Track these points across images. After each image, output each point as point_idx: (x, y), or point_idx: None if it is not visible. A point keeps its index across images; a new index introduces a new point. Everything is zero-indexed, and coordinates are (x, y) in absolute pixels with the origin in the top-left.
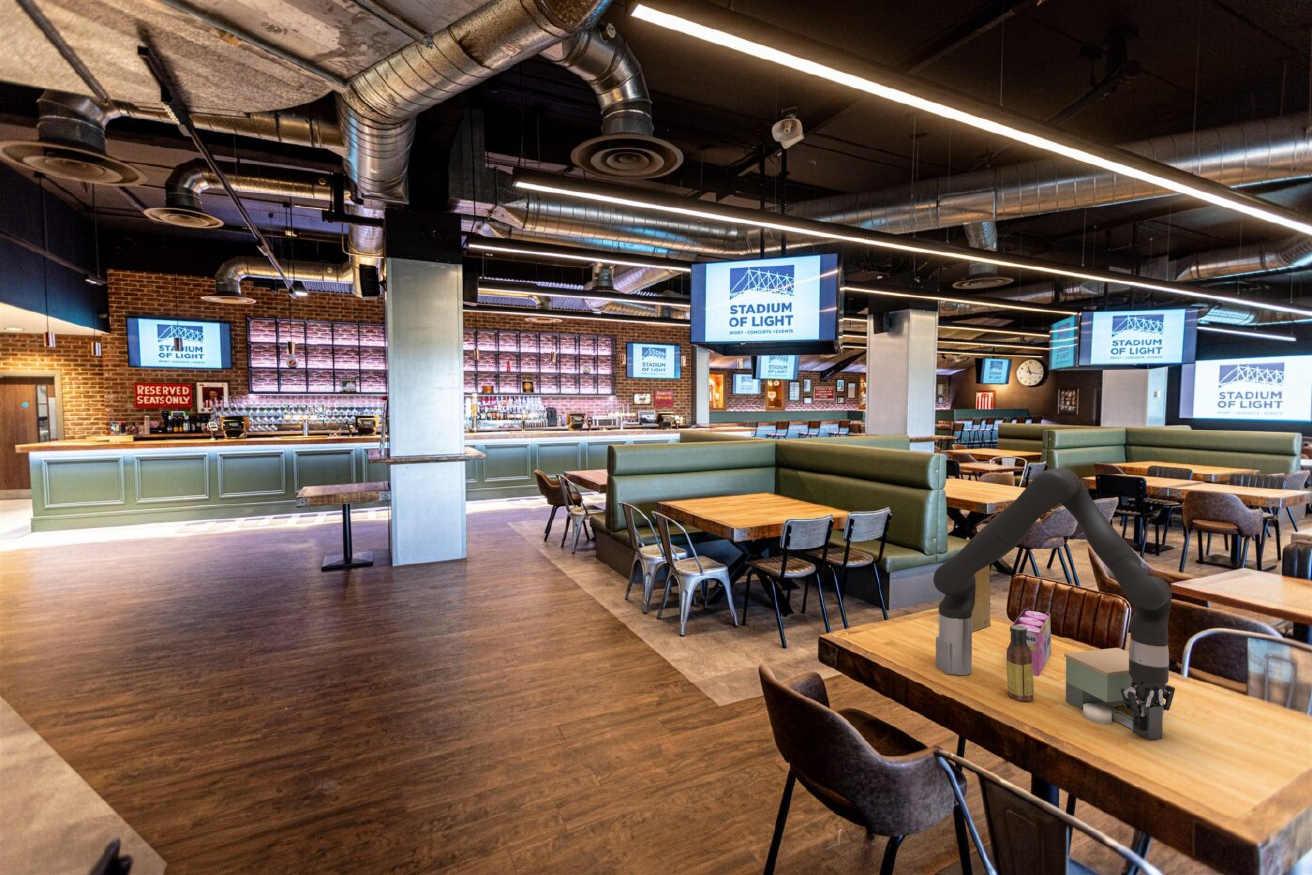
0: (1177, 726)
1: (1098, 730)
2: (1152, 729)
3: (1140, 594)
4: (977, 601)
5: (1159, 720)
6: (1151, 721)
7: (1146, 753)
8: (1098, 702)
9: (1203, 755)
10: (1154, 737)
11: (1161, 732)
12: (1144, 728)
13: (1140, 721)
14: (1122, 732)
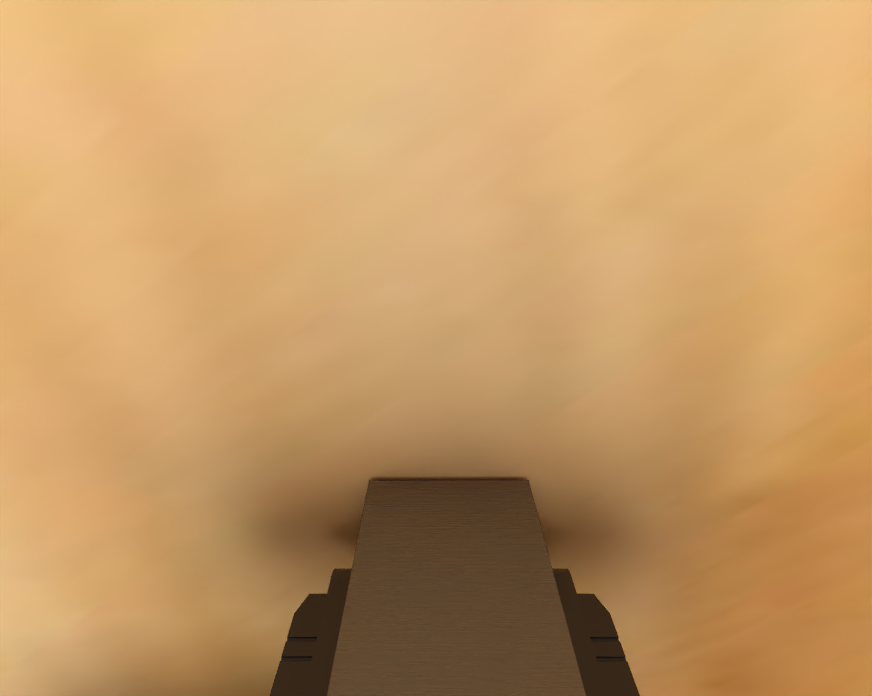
0: (44, 583)
1: (750, 652)
2: (501, 558)
3: None
4: None
5: (389, 649)
6: (532, 651)
7: (803, 322)
8: None
9: (251, 151)
10: (464, 492)
11: (373, 521)
12: None
13: (615, 675)
14: None
